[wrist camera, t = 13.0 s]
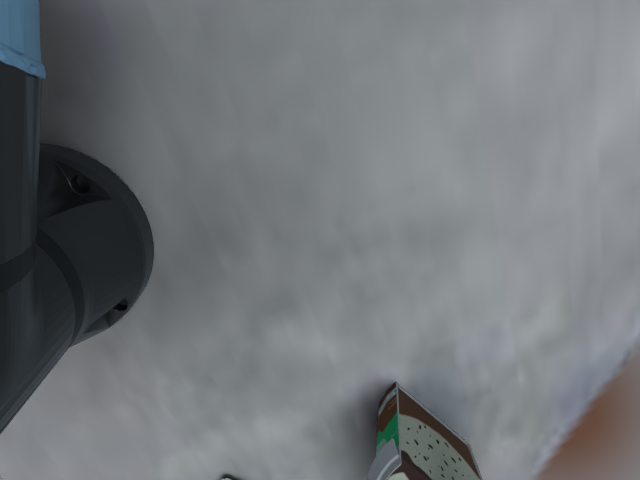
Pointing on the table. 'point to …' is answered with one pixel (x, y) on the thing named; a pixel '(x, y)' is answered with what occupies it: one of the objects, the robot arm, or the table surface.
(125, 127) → the table surface
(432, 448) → the food container
